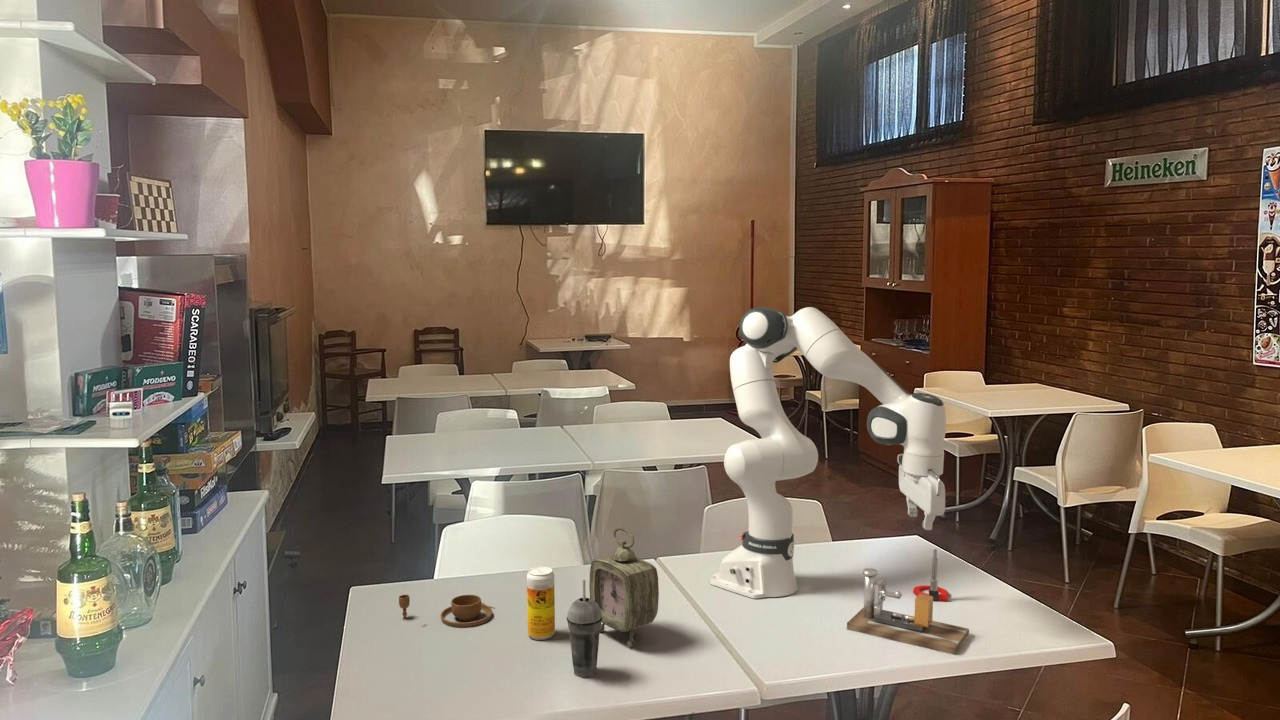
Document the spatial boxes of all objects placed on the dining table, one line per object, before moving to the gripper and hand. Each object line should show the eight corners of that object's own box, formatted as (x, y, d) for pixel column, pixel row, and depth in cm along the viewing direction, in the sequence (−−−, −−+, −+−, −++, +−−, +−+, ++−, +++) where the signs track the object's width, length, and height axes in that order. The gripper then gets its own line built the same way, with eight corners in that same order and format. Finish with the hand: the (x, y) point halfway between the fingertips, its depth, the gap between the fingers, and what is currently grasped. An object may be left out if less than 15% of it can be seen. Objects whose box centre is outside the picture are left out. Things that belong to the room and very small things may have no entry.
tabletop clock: (589, 631, 204) (588, 524, 201) (620, 621, 210) (620, 516, 207) (630, 652, 193) (629, 539, 190) (661, 641, 199) (662, 531, 196)
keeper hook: (859, 617, 208) (861, 571, 207) (864, 613, 210) (865, 567, 209) (898, 626, 203) (899, 579, 202) (902, 621, 206) (904, 574, 204)
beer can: (529, 642, 198) (528, 576, 196) (525, 631, 204) (524, 567, 202) (557, 639, 200) (556, 574, 198) (552, 628, 206) (551, 565, 204)
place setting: (462, 639, 201) (462, 613, 201) (394, 622, 210) (393, 598, 210) (508, 611, 217) (508, 588, 216) (443, 597, 226) (442, 574, 225)
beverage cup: (602, 663, 188) (602, 571, 185) (602, 680, 180) (602, 584, 178) (567, 664, 187) (567, 571, 185) (566, 680, 180) (565, 584, 178)
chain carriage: (873, 621, 205) (874, 584, 204) (880, 613, 209) (882, 577, 208) (926, 633, 198) (927, 595, 197) (933, 625, 203) (934, 587, 202)
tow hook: (910, 588, 231) (916, 600, 222) (912, 539, 230) (918, 549, 221) (944, 590, 230) (951, 602, 221) (946, 541, 229) (953, 551, 220)
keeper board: (846, 629, 205) (847, 621, 205) (864, 611, 215) (865, 604, 215) (954, 654, 192) (955, 646, 192) (968, 635, 202) (969, 627, 202)
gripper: (954, 476, 197) (950, 537, 199) (920, 453, 217) (917, 509, 219) (926, 476, 196) (922, 537, 198) (895, 453, 217) (892, 509, 219)
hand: (919, 522), depth 209 cm, fingers open, 8 cm apart
